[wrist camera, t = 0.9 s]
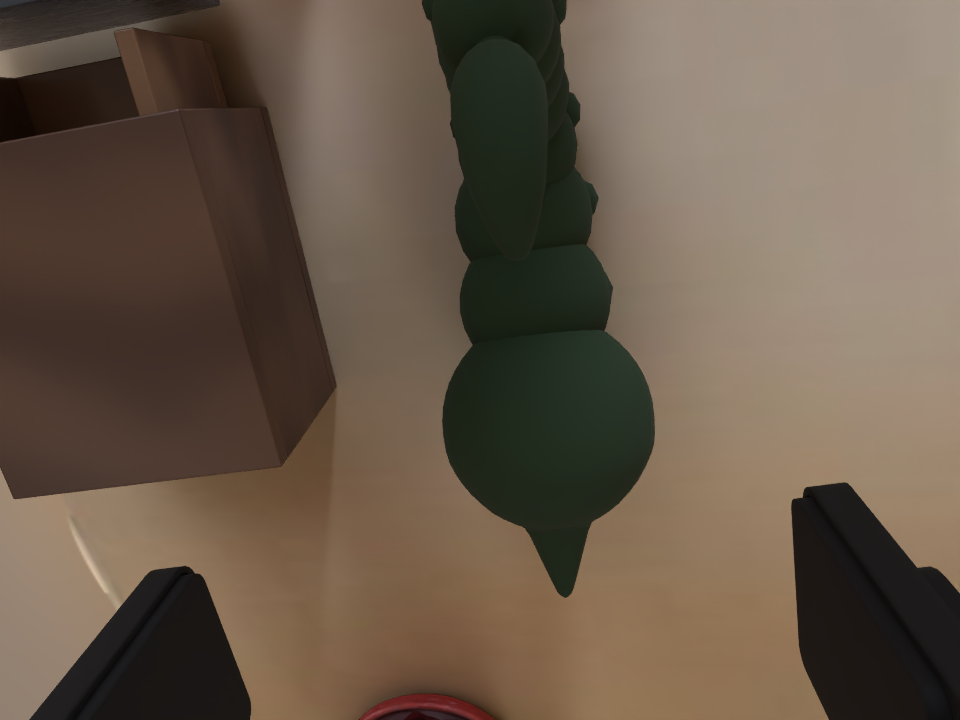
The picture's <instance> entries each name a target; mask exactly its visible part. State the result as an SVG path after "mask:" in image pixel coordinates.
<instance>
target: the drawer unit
mask: <svg viewBox="0 0 960 720" xmlns="http://www.w3.org/2000/svg"><path fill="white" fill-rule="evenodd" d="M335 388H336V382H335V378H334V374H333V370H332V366H331V362H330V358H329V354H328V350H327V346H326V342H325V338H324V334H323V330H322V326H321V322H320V318H319V314H318V310H317V306H316V302H315V298H314V294H313V290H312V286H311V282H310V278H309V274H308V270H307V266H306V262H305V258H304V254H303V250H302V246H301V242H300V238H299V235H298V231H297V227H296V223H295V219H294V215H293V211H292V207H291V203H290V199H289V195H288V191H287V187H286V183H285V179H284V175H283V171H282V167H281V163H280V159H279V155H278V151H277V147H276V143H275V139H274V135H273V131H272V127H271V123H270V119H269V115H268V111H267V108H266V107H250V108H200V109H174V110H169V111H164V112H158V113H153V114H148V115H143V116H137V117H132V118H127V119H121V120H116V121H111V122H106V123H100V124H95V125H90V126H84V127H79V128H74V129H68V130H63V131H58V132H53V133H47V134H42V135H37V136H31V137H26V138H21V139H16V140H10V141H5V142H0V468H1V471H2V473H3V475H4V478H5V480H6V482H7V484H8V487H9V489H10V491H11V494H12V496H13V498H14V499H21V498H29V497H37V496H46V495H53V494H62V493H70V492H78V491H87V490H95V489H103V488H111V487H119V486H128V485H136V484H144V483H152V482H160V481H169V480H177V479H185V478H193V477H201V476H210V475H218V474H226V473H234V472H242V471H251V470H259V469H267V468H275V467H281V466H282V465H283V464H284V462H285V461H286V460H287V458H288V457H289V455H290V454H291V452H292V451H293V449H294V448H295V447H296V445H297V444H298V442H299V441H300V439H301V438H302V436H303V435H304V434H305V432H306V431H307V429H308V428H309V426H310V425H311V423H312V422H313V420H314V419H315V418H316V416H317V415H318V413H319V412H320V410H321V409H322V407H323V406H324V404H325V403H326V402H327V400H328V399H329V397H330V396H331V394H332V392H333V391H334V390H335Z"/></svg>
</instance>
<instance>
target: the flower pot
mask: <svg viewBox="0 0 960 720" xmlns="http://www.w3.org/2000/svg"><path fill="white" fill-rule="evenodd" d="M359 720H494V719H493V718H491V717H490V716H489V715H488V714H486V713H485V712H483V711H482V710H480V709H479V708H477V707H475V706H473V705H471V704H469V703H467V702H464V701H462V700H459V699H456V698H452V697H448V696H443V695H436V694H414V695H406V696H401V697H397V698H393V699H390V700H387V701H385V702H383V703H380V704H378V705H377V706H375V707H374V708H372V709H371V710H369V711H368V712H367V713H365V714H364V715H363V716H362V717H361V718H360V719H359Z"/></svg>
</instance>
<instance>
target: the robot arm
mask: <svg viewBox="0 0 960 720" xmlns="http://www.w3.org/2000/svg"><path fill="white" fill-rule="evenodd" d="M791 510H792V528H793V546H794V564H795V582H796V600H797V618H798V636H799V648H800V653H801V657H802V661H803V664H804V667H805V670H806V672H807V674H808V676H809V678H810V680H811V683H812V685H813V687H814V689H815V691H816V693H817V695H818V697H819V699H820V702H821V704H822V706H823V708H824V710H825V712H826V714H827V716H828V718H829V720H960V593H959V592H958V591H957V590H956V589H955V587H954V586H953V585H952V584H951V583H950V582H949V580H948V579H947V578H946V577H945V576H944V575H943V574H942V573H941V572H940V571H939V570H938V569H935V568H933V567H922V568H917V567H916V566H915V565H914V563H913V562H912V561H911V560H910V558H909V557H908V556H907V555H906V554H905V552H904V551H903V550H902V549H901V547H900V546H899V545H898V544H897V542H896V541H895V540H894V539H893V538H892V536H891V535H890V534H889V533H888V531H887V530H886V529H885V528H884V526H883V525H882V524H881V523H880V522H879V520H878V519H877V518H876V517H875V515H874V514H873V513H872V512H871V511H870V509H869V508H868V507H867V506H866V504H865V503H864V502H863V501H862V499H861V498H860V497H859V496H858V495H857V493H856V492H855V491H854V490H853V488H852V487H851V486H850V485H849V484H848V483H836V484H828V485H820V486H813V487H806V488H805V489H804V493H803V498H797V499H793V500H792V505H791ZM250 716H251V702H250V698H249V695H248V692H247V690H246V687H245V684H244V682H243V679H242V677H241V674H240V671H239V669H238V666H237V663H236V661H235V658H234V656H233V653H232V650H231V648H230V645H229V642H228V640H227V637H226V635H225V632H224V629H223V627H222V624H221V621H220V619H219V616H218V614H217V611H216V608H215V606H214V603H213V600H212V598H211V595H210V593H209V590H208V587H207V585H206V582H205V580H204V578H203V577H202V576H201V575H200V574H195V573H194V571H193V570H192V569H191V568H190V567H187V566H181V567H173V568H165V569H158V570H153V571H150V572H149V573H148V574H147V575H146V576H145V577H144V578H143V580H142V581H141V582H140V583H139V585H138V586H137V587H136V588H135V590H134V591H133V592H132V593H131V595H130V596H129V597H128V598H127V600H126V601H125V602H124V603H123V604H122V606H121V607H120V608H119V609H118V611H117V612H116V613H115V614H114V616H113V617H112V618H111V619H110V621H109V622H108V623H107V624H106V626H105V627H104V628H103V629H102V630H101V632H100V633H99V634H98V635H97V637H96V638H95V639H94V641H93V642H92V643H91V644H90V646H89V647H88V648H87V649H86V650H85V652H84V653H83V654H82V655H81V656H80V658H79V659H78V660H77V661H76V663H75V664H74V665H73V667H72V668H71V669H70V670H69V671H68V673H67V674H66V675H65V676H64V678H63V679H62V680H61V682H59V684H58V685H57V686H56V687H55V689H54V690H53V691H52V692H51V694H50V695H49V696H48V697H47V699H46V700H45V701H44V702H43V703H42V705H41V706H40V707H39V708H38V710H37V711H36V712H35V713H34V715H33V716H32V717H31V718H30V720H250Z"/></svg>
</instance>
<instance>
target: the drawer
mask: <svg viewBox="0 0 960 720" xmlns="http://www.w3.org/2000/svg"><path fill="white" fill-rule="evenodd" d="M216 6H220V1H219V0H0V51H2V50H7V49H12V48H17V47H22V46H27V45H32V44H36V43H41V42H46V41H51V40H56V39H61V38H66V37H70V36H75V35H80V34H85V33H90V32H95V31H100V30H104V29H109V28H114V27H119V26H124V25H129V24H134V23H138V22H143V21H148V20H153V19H158V18H163V17H167V16H172V15H177V14H182V13H187V12H192V11H197V10H201V9H206V8H211V7H216ZM114 35H115V38H116V42H117V45H118V48H119V51H120V55H121V57H118V58H113V59H108V60H103V61H98V62H93V63H88V64H83V65H78V66H73V67H68V68H63V69H58V70H53V71H48V72H43V73H38V74H33V75H28V76H23V77H18V78H6V77H0V142H5V141H10V140H16V139H21V138H26V137H31V136H37V135H42V134H47V133H53V132H58V131H63V130H68V129H74V128H79V127H84V126H90V125H95V124H100V123H106V122H111V121H116V120H121V119H127V118H132V117H137V116H143V115H148V114H153V113H158V112H164V111H169V110H174V109H200V108H227V104H226V100H225V97H224V93H223V89H222V86H221V82H220V78H219V74H218V71H217V67H216V63H215V59H214V56H213V52H212V48H211V45H210V42H207V41H201V40H196V39H190V38H185V37H180V36H174V35H169V34H163V33H158V32H153V31H147V30H142V29H136V28H127V29H122V30H118V31H115V32H114Z"/></svg>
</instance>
